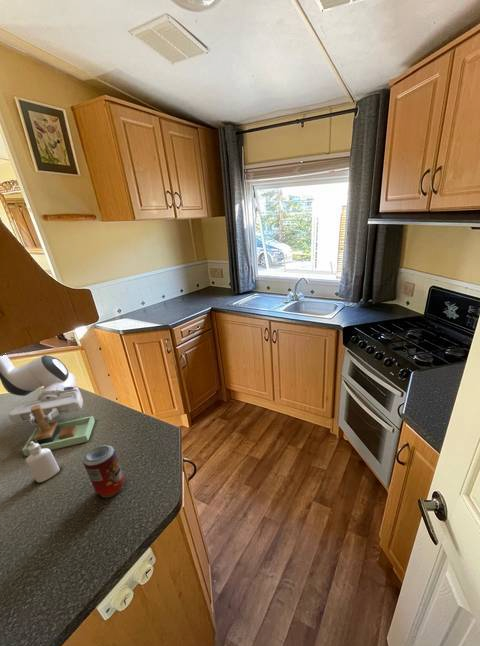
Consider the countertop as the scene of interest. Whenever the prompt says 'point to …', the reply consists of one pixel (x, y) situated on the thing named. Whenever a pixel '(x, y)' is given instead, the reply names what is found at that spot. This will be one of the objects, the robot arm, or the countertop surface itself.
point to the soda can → (104, 470)
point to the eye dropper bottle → (41, 462)
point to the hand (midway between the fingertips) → (40, 420)
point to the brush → (44, 426)
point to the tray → (80, 436)
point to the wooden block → (67, 432)
